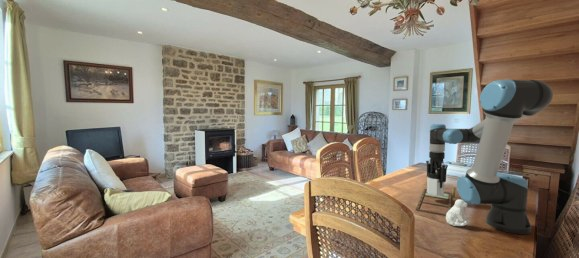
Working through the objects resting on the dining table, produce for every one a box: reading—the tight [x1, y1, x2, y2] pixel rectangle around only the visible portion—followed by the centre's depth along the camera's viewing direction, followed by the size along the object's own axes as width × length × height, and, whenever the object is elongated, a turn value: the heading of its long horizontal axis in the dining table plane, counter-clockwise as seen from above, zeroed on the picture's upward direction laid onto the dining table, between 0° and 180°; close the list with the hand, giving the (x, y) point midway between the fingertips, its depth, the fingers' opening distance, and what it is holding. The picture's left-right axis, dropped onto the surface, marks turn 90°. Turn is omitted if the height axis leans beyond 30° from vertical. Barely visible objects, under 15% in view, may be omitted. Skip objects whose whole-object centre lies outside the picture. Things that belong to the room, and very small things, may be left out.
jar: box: [426, 171, 445, 196], centre depth 144 cm, size 9×8×12 cm
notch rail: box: [415, 186, 456, 217], centre depth 143 cm, size 43×17×6 cm, turn 147°
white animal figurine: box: [445, 198, 471, 227], centre depth 112 cm, size 6×8×12 cm
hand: (435, 192), depth 144 cm, fingers closed on jar, 4 cm apart
